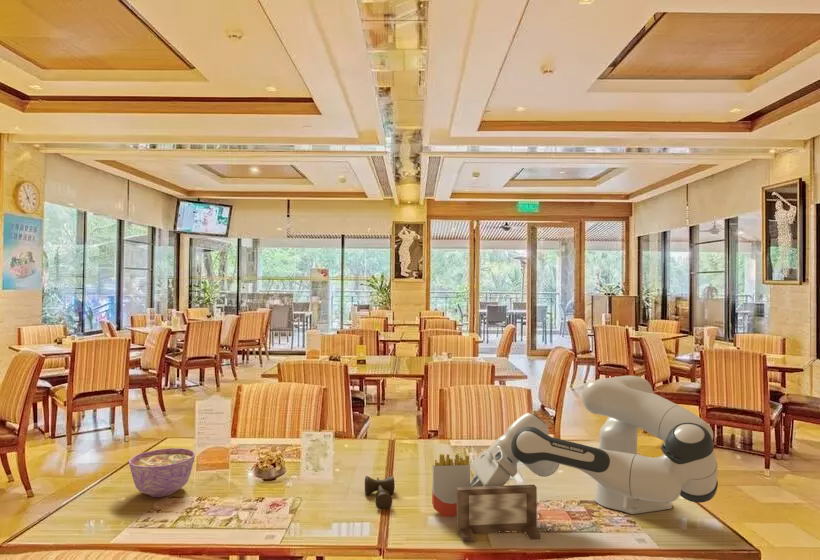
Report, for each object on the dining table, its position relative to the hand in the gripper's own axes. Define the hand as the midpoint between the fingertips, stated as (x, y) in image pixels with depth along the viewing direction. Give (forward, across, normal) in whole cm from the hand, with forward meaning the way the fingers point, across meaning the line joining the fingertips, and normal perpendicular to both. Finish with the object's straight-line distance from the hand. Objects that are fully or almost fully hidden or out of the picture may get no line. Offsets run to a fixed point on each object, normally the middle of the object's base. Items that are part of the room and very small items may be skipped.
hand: (469, 490), depth 163 cm
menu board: (+1, +15, +8) cm, 17 cm away
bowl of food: (+74, -26, -63) cm, 101 cm away
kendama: (+24, -14, -13) cm, 30 cm away
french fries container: (+9, 0, +1) cm, 9 cm away
